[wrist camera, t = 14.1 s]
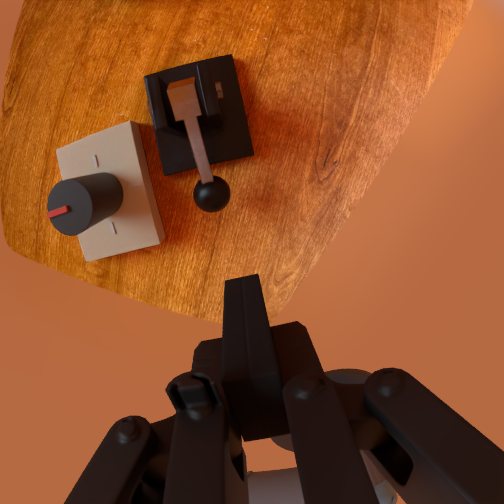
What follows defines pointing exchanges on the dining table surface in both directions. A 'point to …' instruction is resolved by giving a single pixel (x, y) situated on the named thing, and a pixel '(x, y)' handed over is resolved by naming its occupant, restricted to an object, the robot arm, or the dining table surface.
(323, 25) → the dining table surface
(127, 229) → the dial panel
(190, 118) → the ball knob lever
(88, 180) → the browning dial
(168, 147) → the lever bracket
